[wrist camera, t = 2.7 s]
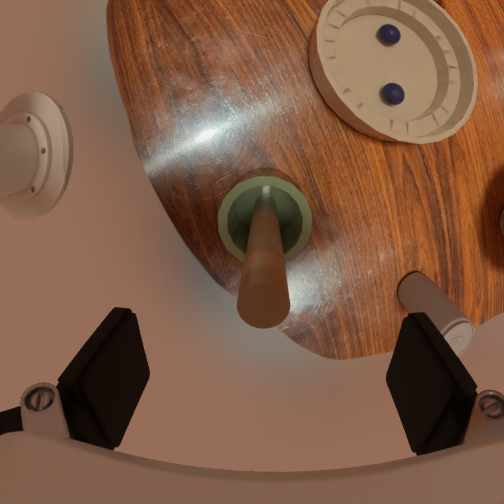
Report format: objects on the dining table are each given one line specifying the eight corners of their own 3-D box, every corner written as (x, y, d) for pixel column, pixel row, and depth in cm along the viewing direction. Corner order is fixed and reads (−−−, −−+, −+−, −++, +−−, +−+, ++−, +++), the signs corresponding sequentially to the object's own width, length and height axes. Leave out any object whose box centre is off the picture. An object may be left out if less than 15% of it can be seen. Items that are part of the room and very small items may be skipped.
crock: (230, 237, 33) (219, 266, 26) (228, 167, 31) (216, 176, 23) (299, 238, 33) (309, 267, 26) (302, 168, 30) (314, 177, 23)
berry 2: (379, 104, 27) (387, 101, 24) (378, 82, 26) (386, 79, 23) (399, 107, 26) (408, 105, 24) (398, 86, 26) (408, 83, 23)
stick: (254, 215, 31) (237, 328, 13) (254, 194, 31) (236, 283, 12) (275, 215, 31) (288, 329, 13) (276, 194, 31) (291, 283, 12)
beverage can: (398, 271, 34) (444, 325, 23) (431, 268, 34) (481, 318, 22) (394, 305, 36) (431, 365, 24) (425, 301, 35) (467, 356, 24)
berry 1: (376, 44, 24) (384, 38, 22) (374, 26, 23) (382, 19, 21) (396, 48, 24) (405, 43, 22) (394, 30, 23) (403, 24, 21)
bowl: (308, 134, 29) (318, 133, 23) (304, -8, 23) (311, -34, 17) (448, 151, 28) (478, 155, 23) (441, 21, 22) (466, 7, 17)
